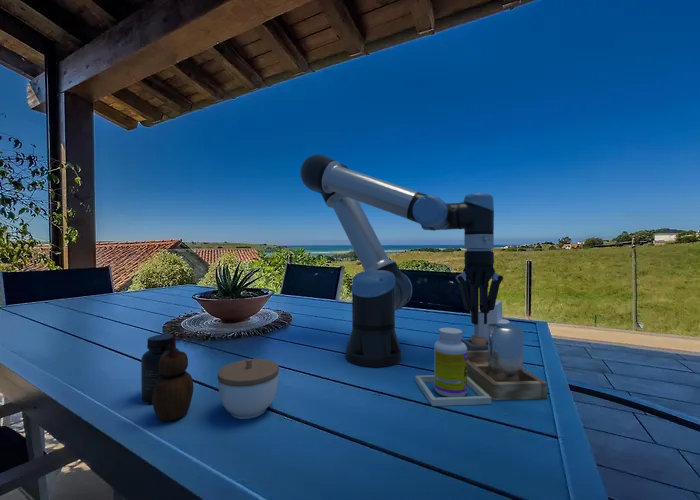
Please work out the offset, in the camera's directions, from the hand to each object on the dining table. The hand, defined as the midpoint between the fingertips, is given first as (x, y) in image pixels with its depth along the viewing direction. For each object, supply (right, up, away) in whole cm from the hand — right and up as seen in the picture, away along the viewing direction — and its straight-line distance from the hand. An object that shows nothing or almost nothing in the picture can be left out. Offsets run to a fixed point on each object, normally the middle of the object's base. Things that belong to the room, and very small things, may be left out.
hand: (479, 335), depth 89 cm
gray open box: (0, -6, 0) cm, 6 cm away
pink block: (0, -5, 0) cm, 5 cm away
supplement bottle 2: (-15, -6, -22) cm, 27 cm away
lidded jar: (-54, -6, -29) cm, 62 cm away
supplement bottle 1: (-74, -6, -24) cm, 78 cm away
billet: (-2, -6, -20) cm, 20 cm away
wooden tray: (-3, -6, -15) cm, 16 cm away
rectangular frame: (-15, -6, -22) cm, 27 cm away
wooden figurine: (-67, -6, -31) cm, 74 cm away
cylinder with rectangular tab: (+13, -6, +18) cm, 23 cm away
